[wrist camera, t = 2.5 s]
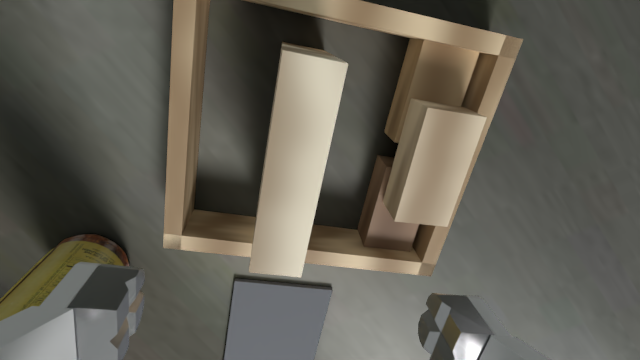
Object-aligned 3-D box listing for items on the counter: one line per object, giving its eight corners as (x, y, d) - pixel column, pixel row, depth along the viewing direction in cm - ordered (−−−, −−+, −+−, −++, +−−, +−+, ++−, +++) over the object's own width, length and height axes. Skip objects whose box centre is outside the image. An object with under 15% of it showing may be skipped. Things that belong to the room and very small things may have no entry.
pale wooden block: (324, 50, 25) (348, 63, 16) (294, 200, 30) (300, 277, 20) (282, 41, 25) (282, 49, 16) (259, 195, 29) (248, 272, 20)
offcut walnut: (421, 161, 30) (436, 174, 27) (398, 232, 32) (409, 251, 29) (376, 153, 29) (386, 167, 26) (356, 227, 32) (363, 246, 29)
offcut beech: (464, 107, 25) (486, 117, 22) (430, 207, 28) (447, 226, 25) (410, 98, 24) (427, 107, 22) (382, 201, 27) (394, 221, 25)
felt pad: (331, 287, 34) (332, 290, 33) (300, 408, 40) (300, 411, 39) (235, 278, 32) (234, 281, 32) (217, 404, 38) (217, 408, 38)
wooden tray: (488, 37, 26) (523, 39, 22) (414, 248, 33) (431, 276, 29) (192, -33, 22) (175, -45, 19) (178, 220, 29) (163, 247, 26)
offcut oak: (458, 49, 26) (479, 52, 24) (429, 139, 29) (445, 151, 26) (408, 38, 26) (424, 39, 23) (383, 131, 28) (394, 142, 25)
